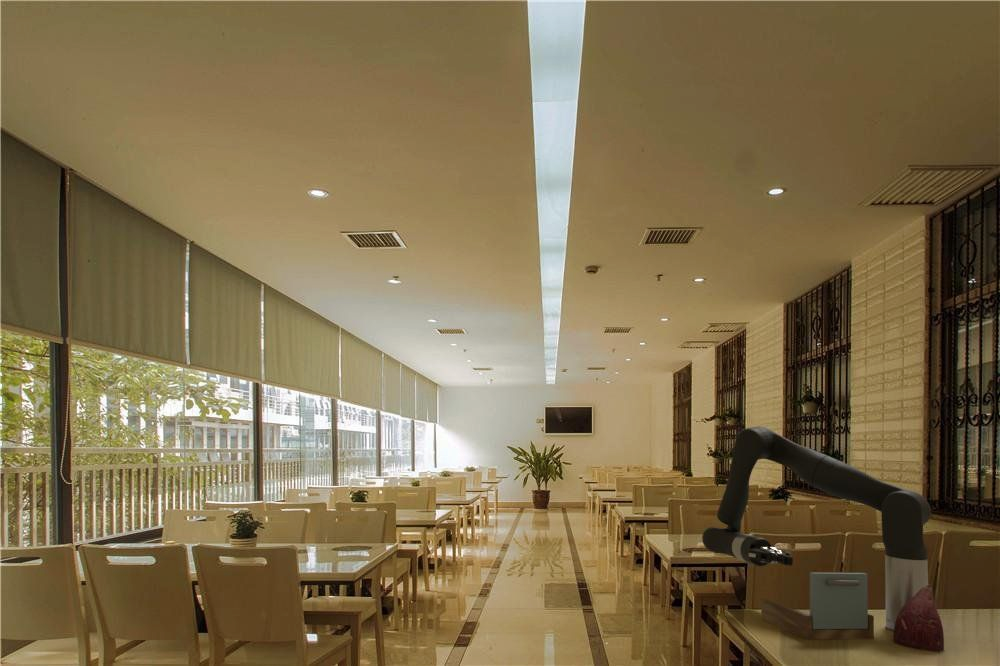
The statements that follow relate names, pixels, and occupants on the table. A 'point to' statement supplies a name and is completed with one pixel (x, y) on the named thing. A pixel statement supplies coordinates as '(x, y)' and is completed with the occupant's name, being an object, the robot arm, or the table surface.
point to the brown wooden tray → (808, 623)
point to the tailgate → (839, 600)
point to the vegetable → (920, 623)
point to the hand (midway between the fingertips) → (789, 561)
